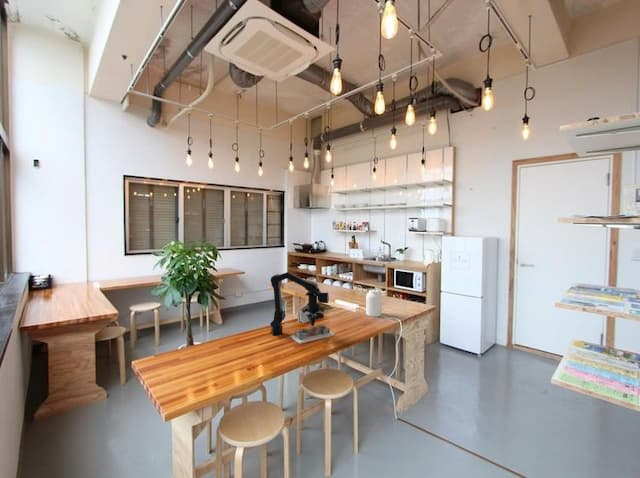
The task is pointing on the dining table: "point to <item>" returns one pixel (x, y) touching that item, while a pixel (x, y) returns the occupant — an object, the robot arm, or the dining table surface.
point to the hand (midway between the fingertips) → (312, 325)
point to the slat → (313, 330)
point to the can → (374, 303)
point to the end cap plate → (303, 337)
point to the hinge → (302, 317)
